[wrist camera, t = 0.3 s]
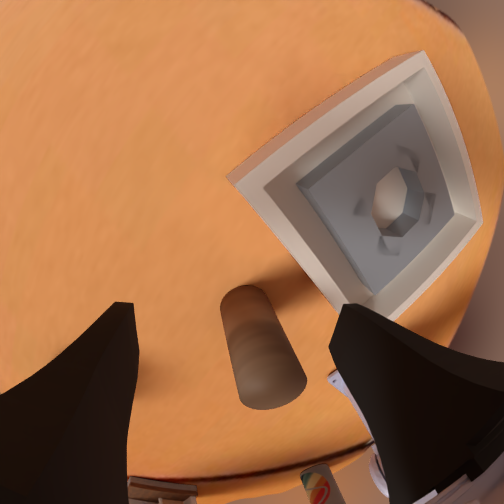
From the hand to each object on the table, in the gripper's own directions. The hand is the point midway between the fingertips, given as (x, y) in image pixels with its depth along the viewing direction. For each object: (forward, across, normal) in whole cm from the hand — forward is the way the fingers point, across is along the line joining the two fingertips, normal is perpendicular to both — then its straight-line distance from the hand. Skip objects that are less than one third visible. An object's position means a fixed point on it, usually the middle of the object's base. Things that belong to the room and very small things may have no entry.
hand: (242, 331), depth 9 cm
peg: (+10, -2, +5) cm, 11 cm away
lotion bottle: (+10, -20, +45) cm, 50 cm away
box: (+10, -12, -4) cm, 16 cm away
